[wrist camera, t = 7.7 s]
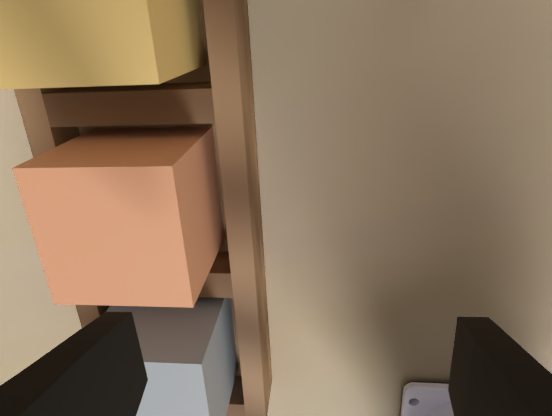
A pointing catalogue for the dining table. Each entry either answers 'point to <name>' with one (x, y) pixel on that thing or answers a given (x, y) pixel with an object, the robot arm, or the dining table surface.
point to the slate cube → (186, 357)
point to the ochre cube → (98, 42)
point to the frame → (230, 167)
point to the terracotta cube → (126, 215)
